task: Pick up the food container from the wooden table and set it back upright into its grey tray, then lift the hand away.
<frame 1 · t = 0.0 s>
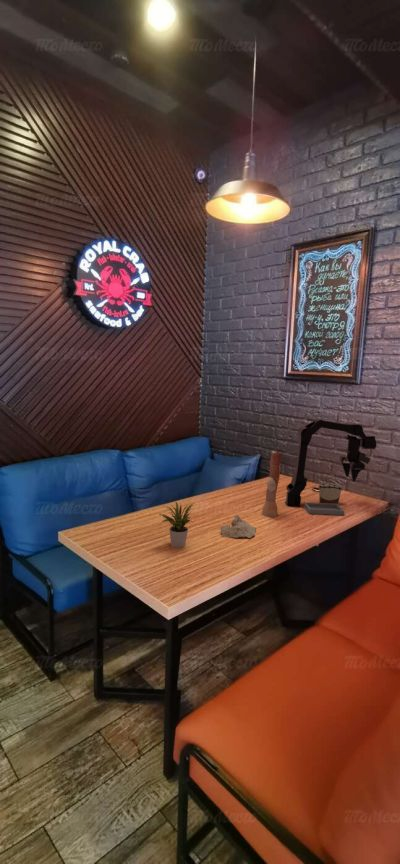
hand: (350, 478, 215), 15 cm above the table, tool pointing down, fingers open, 9 cm apart
grey tray: (323, 511, 208), on the table
tall figurine: (270, 514, 200), on the table
food container: (327, 503, 223), on the table
house plant: (179, 543, 160), on the table
coral: (238, 533, 175), on the table
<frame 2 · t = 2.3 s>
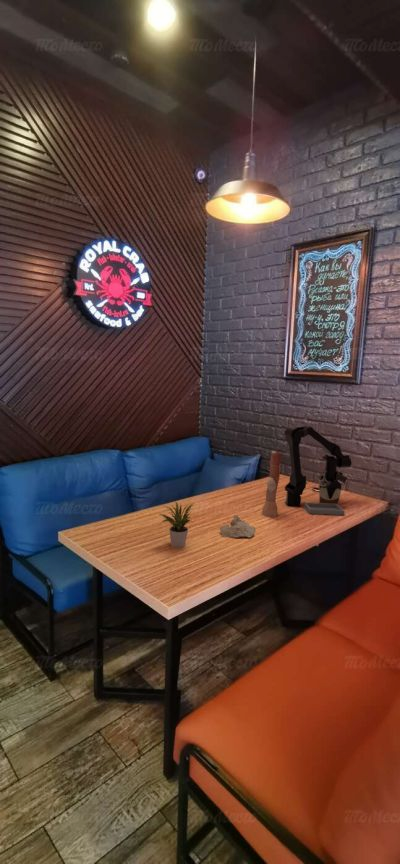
hand: (328, 497, 222), 3 cm above the table, tool pointing down, fingers closed on food container, 6 cm apart
food container: (327, 503, 223), on the table, touching gripper
everything else where it was.
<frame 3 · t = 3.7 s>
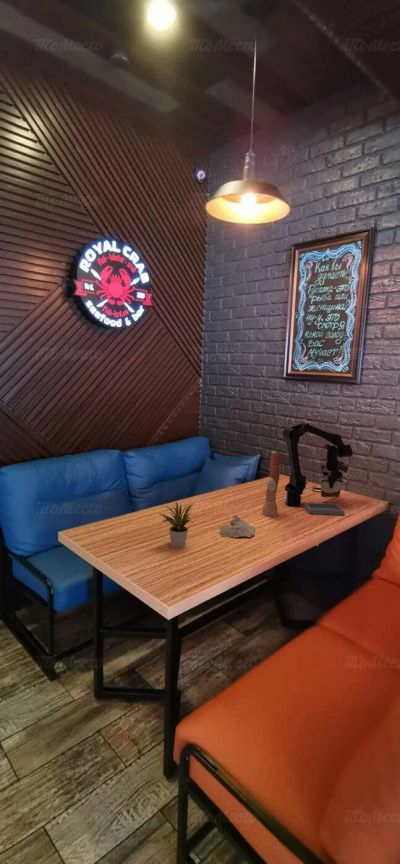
hand: (329, 486, 222), 9 cm above the table, tool pointing down, fingers closed on food container, 6 cm apart
food container: (328, 494, 223), point 4 cm above the table, touching gripper
everything else where it was.
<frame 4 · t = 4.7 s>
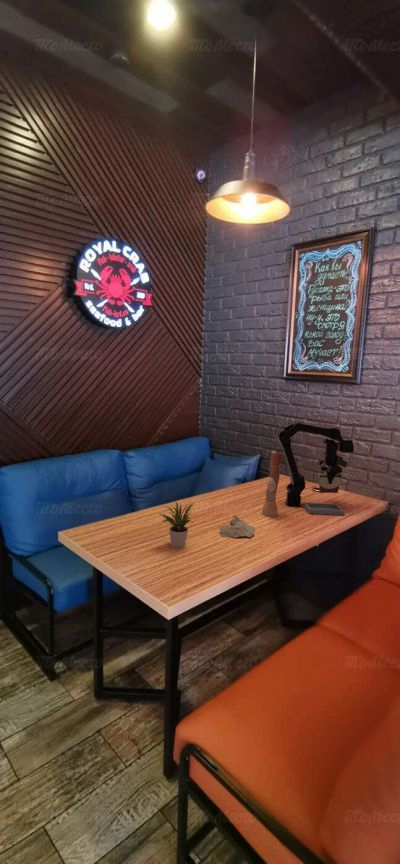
hand: (327, 482, 215), 12 cm above the table, tool pointing down, fingers closed on food container, 6 cm apart
food container: (326, 490, 217), point 8 cm above the table, touching gripper
everything else where it was.
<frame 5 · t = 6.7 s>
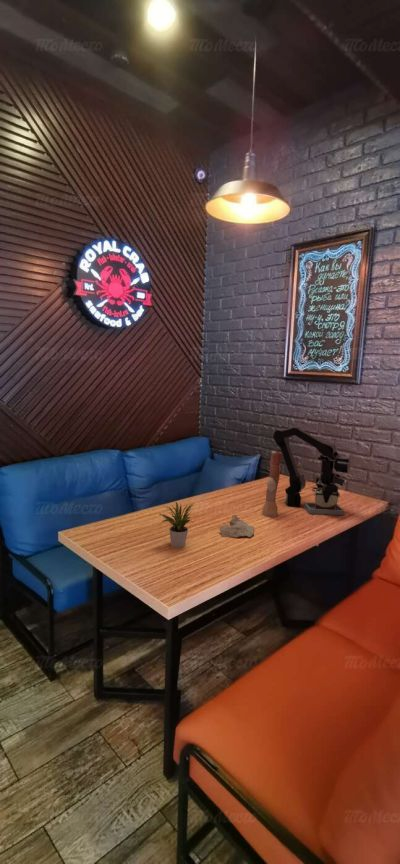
hand: (324, 501, 207), 5 cm above the table, tool pointing down, fingers closed on food container, 6 cm apart
food container: (323, 508, 209), point 1 cm above the table, touching grey tray, gripper
everything else where it was.
when the fingers open (5 cm above the table, at t = 7.6 s): food container stays where it is, resting on grey tray.
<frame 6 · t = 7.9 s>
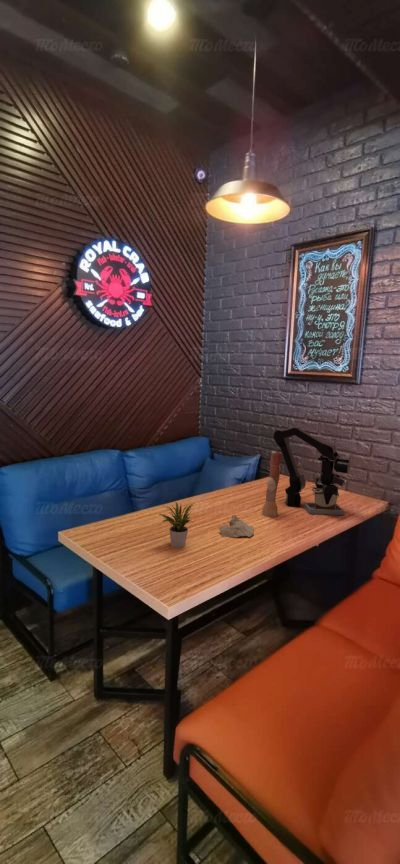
hand: (324, 501, 207), 5 cm above the table, tool pointing down, fingers open, 9 cm apart
food container: (322, 509, 209), resting on grey tray
everything else where it was.
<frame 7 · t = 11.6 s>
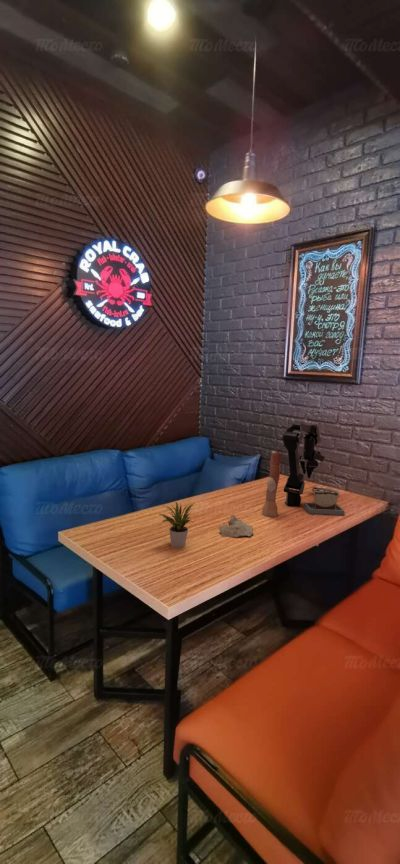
hand: (306, 475, 229), 12 cm above the table, tool pointing down, fingers open, 9 cm apart
at the end: food container 1.5 cm off-centre on the grey tray, point 0.3 cm above the grey tray's base; food container tilted 0°; the gripper is holding nothing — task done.
